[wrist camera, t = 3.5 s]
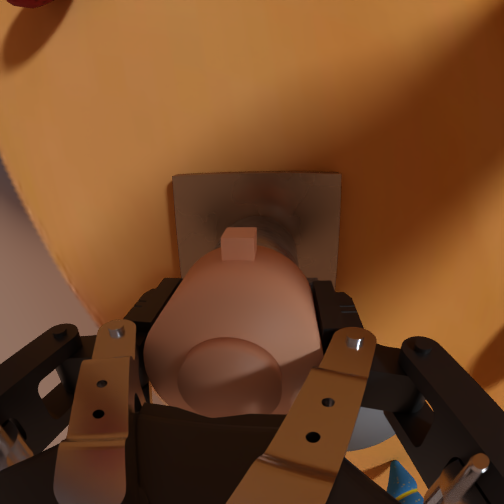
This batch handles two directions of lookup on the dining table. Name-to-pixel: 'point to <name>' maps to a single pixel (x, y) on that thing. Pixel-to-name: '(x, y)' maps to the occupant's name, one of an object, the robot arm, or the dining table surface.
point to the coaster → (370, 429)
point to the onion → (29, 3)
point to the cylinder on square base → (262, 215)
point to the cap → (235, 332)
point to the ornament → (403, 485)
